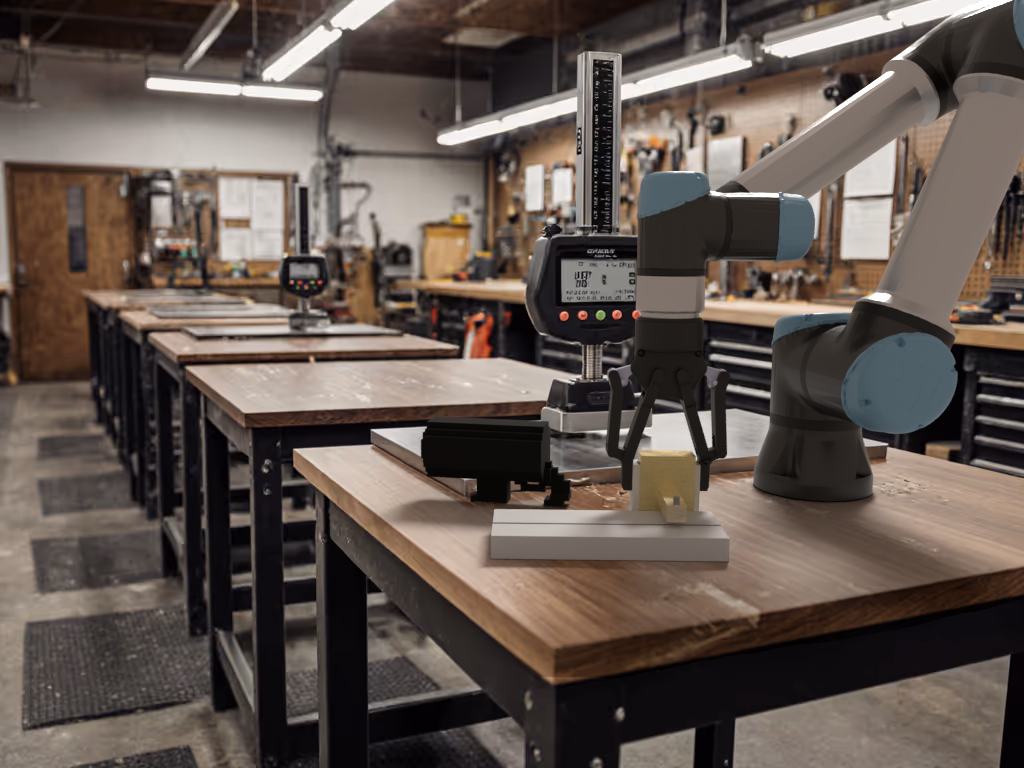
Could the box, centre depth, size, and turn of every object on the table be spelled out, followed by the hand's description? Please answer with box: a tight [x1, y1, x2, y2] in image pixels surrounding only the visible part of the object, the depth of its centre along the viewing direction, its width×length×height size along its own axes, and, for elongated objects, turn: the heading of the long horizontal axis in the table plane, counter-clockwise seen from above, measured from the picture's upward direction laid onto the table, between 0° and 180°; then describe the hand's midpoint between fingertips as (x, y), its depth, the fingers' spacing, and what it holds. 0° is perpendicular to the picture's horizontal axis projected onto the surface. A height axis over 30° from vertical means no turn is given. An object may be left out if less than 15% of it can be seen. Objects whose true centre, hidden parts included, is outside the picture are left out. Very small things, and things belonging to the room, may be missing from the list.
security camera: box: [420, 416, 572, 508], centre depth 118 cm, size 7×18×10 cm, turn 78°
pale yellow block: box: [637, 449, 697, 522], centre depth 103 cm, size 6×10×8 cm, turn 179°
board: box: [490, 508, 731, 562], centre depth 101 cm, size 24×10×2 cm, turn 89°
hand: (663, 517), depth 108 cm, fingers closed on pale yellow block, 6 cm apart
